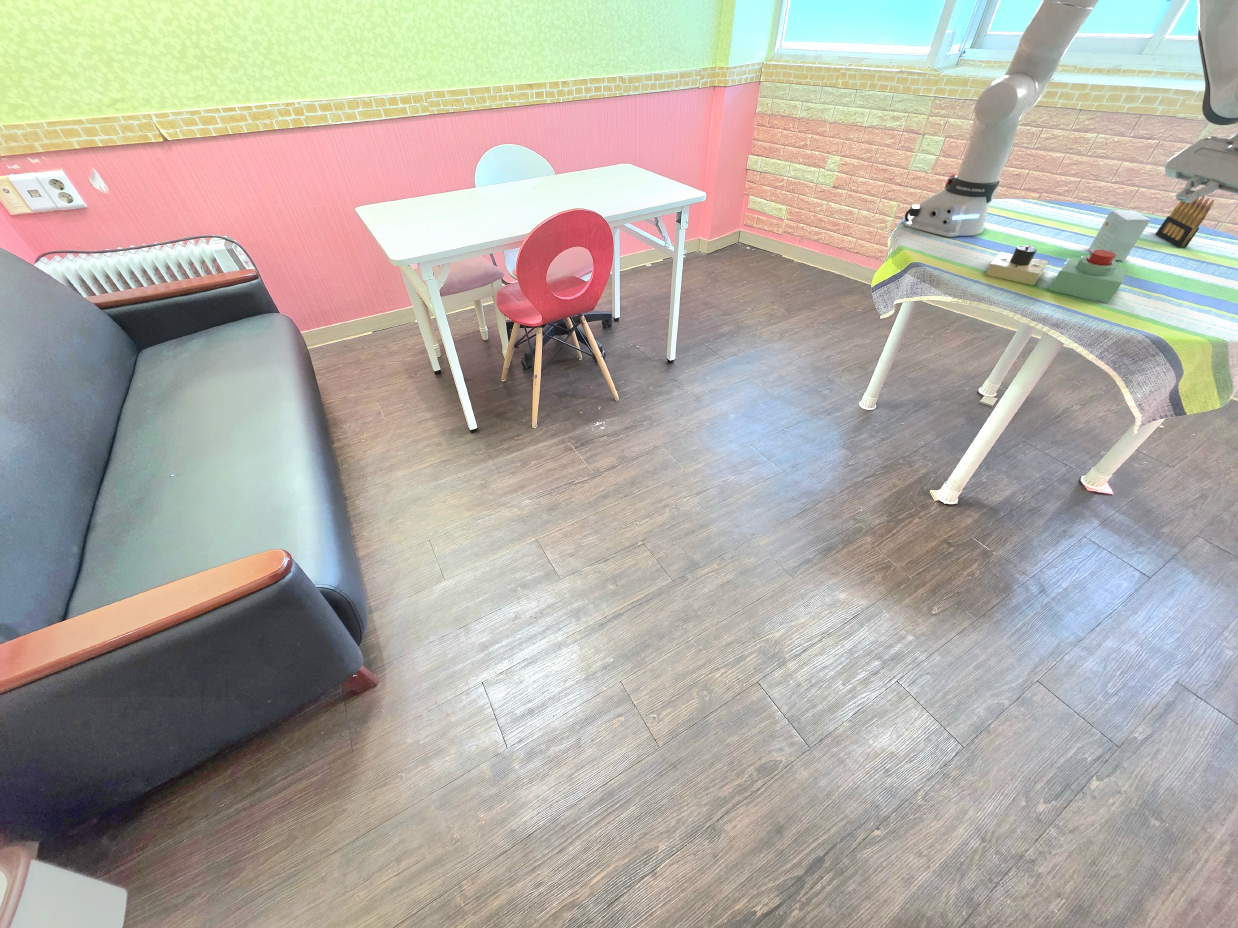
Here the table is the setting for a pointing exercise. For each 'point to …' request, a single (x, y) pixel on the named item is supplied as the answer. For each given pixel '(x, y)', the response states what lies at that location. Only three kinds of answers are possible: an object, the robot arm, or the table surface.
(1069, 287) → the green push button box
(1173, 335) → the table surface
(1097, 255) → the button
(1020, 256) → the knob
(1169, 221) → the ammunition clip
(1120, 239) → the small box
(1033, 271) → the panel
